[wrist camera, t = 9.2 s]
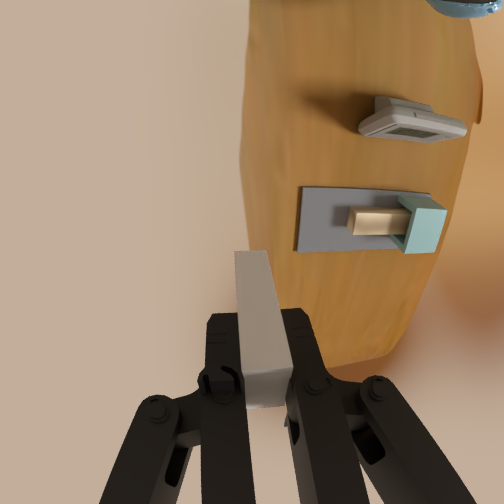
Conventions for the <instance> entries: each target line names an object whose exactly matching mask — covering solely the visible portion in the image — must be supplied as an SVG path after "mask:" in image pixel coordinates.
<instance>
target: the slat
mask: <svg viewBox="0 0 504 504" xmlns="http://www.w3.org/2000/svg"><path fill="white" fill-rule="evenodd" d="M411 215H412V212H411V211H410V210H409V209H407V208H396V207H371V206H350V208H349V214H348V220H347V226H346V227H347V228H348V230H349V231H350V232H351V233H352V235H386V234H407V230H408V227H409V223H410V219H411Z"/></svg>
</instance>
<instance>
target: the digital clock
mask: <svg viewBox="0 0 504 504" xmlns="http://www.w3.org/2000/svg"><path fill="white" fill-rule="evenodd" d="M358 131H359V132H360V133H361V134H362V135H363V136H366V137H379V138H390V139H400V140H408V141H416V142H424V143H433V142H438V141H443V140H448V139H453V138H458V137H463V136H464V135H465V134H466V132H467V128H466V126H465V125H464V123H463V122H462V121H460V120H457V119H454V118H450V117H447V116H443V115H439V114H435V113H434V112H433V110H432V107H431V106H429V105H425V104H421V103H416V102H412V101H407V100H402V99H397V98H391V97H385V96H375V114H373V115H371V116H370V117H368V118H366V119H364V120H362V121H361V122H360V124H359V126H358Z"/></svg>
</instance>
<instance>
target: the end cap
mask: <svg viewBox="0 0 504 504" xmlns="http://www.w3.org/2000/svg"><path fill="white" fill-rule="evenodd" d="M398 202H399V203H401V204H402V205H403V206H405V207H406V208H407V209H409V210H410V211H411V212H412V215H411V219H410V223H409V227H408V230H407V234H390V236H389V238H390V239H391V240H392V241H393V242H394V243H395V244H396V245H397V246H398V247H399V249H400V250H401V251H402V252H403V253H404V254H410V253H427V252H435V249H436V247H437V244H438V240H439V237H440V234H441V231H442V228H443V224H444V221H445V217H446V214H447V209H445V208H444V207H442V206H441V205H440V204H438V203H437V202H435V201H434V200H432V199H431V198H429V197H419V196H407V195H399V196H398Z"/></svg>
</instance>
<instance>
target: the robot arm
mask: <svg viewBox="0 0 504 504" xmlns="http://www.w3.org/2000/svg"><path fill="white" fill-rule="evenodd" d="M426 1H427V2H428V3H429V4H430V5H431V6H432V7H433V8H434V9H435V10H436V11H438V12H439V13H442V14H443V15H446V16H449V17H453V18H477V17H483V16H486V15H488V13H495V12H497V11H499V10H500V9H501V8H502V6H503V1H502V0H426ZM235 277H236V300H237V313H217V314H216V313H215V314H212V315H211V317H210V319H209V320H208V322H207V332H206V352H205V368H204V369H203V370H202V371H201V372H200V373H199V376H198V380H197V382H198V385H199V388H198V390H196V391H195V392H193V393H191V394H189V395H186V396H183V397H179V398H175V399H171V398H169V397H167V396H165V395H153V396H149V397H148V398H146V399H145V400H143V401H142V403H141V404H140V406H139V407H138V409H137V411H136V414H135V416H134V419H133V421H132V423H131V425H130V428H129V430H128V432H127V435H126V437H125V439H124V442H123V444H122V446H121V449H120V451H119V454H118V456H117V459H116V461H115V464H114V466H113V469H112V471H111V474H110V476H109V479H108V481H107V484H106V487H105V489H104V492H103V494H102V497H101V500H100V502H99V504H176V501H177V498H178V495H179V492H180V488H181V485H182V482H183V478H184V475H185V472H186V468H187V465H188V462H189V459H190V455H191V452H192V448H193V447H194V446H197V445H201V493H202V504H256V500H255V492H254V482H253V472H252V463H251V453H250V443H249V432H248V421H247V410H246V409H253V408H266V407H276V406H284V405H285V401H286V405H287V415H286V418H285V423H284V427H286V426H288V432H289V438H290V444H291V450H292V456H293V462H294V468H295V474H296V480H297V485H298V491H299V498H300V503H301V504H370V503H369V498H368V494H367V491H366V486H365V482H364V478H363V475H362V471H361V467H360V464H361V465H362V467H363V469H364V470H365V472H366V474H367V475H368V477H369V479H370V480H371V482H372V484H373V485H374V487H375V489H376V490H377V492H378V494H379V495H380V497H381V499H382V500H383V502H384V504H477V503H476V502H475V500H474V499H473V497H472V495H471V494H470V492H469V491H468V489H467V488H466V486H465V485H464V483H463V482H462V480H461V478H460V477H459V475H458V474H457V472H456V471H455V470H454V468H453V467H452V465H451V463H450V462H449V461H448V459H447V458H446V456H445V455H444V453H443V452H442V450H441V449H440V447H439V446H438V445H437V443H436V442H435V440H434V439H433V438H432V436H431V435H430V433H429V432H428V430H427V429H426V428H425V426H424V425H423V423H422V422H421V421H420V419H419V418H418V416H417V415H416V414H415V412H414V411H413V410H412V408H411V407H410V406H409V404H408V403H407V401H406V400H405V399H404V397H403V396H402V395H401V393H400V392H399V391H398V389H397V388H396V387H395V385H394V384H393V383H392V382H391V381H390V380H389V379H388V378H385V377H383V376H376V375H374V376H371V377H368V378H367V379H365V380H364V381H363V382H362V383H358V382H347V381H342V380H339V379H337V378H334V377H333V376H332V375H330V374H329V373H328V371H327V370H326V368H325V366H324V363H323V360H322V357H321V353H320V350H319V347H318V344H317V341H316V338H315V336H314V332H313V329H312V325H311V322H310V319H309V316H308V315H307V314H306V313H305V312H304V311H303V310H302V309H301V308H293V309H280V306H279V302H278V298H277V293H276V289H275V285H274V281H273V277H272V272H271V268H270V264H269V260H268V256H267V252H266V250H257V251H235ZM359 462H360V463H359Z"/></svg>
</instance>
